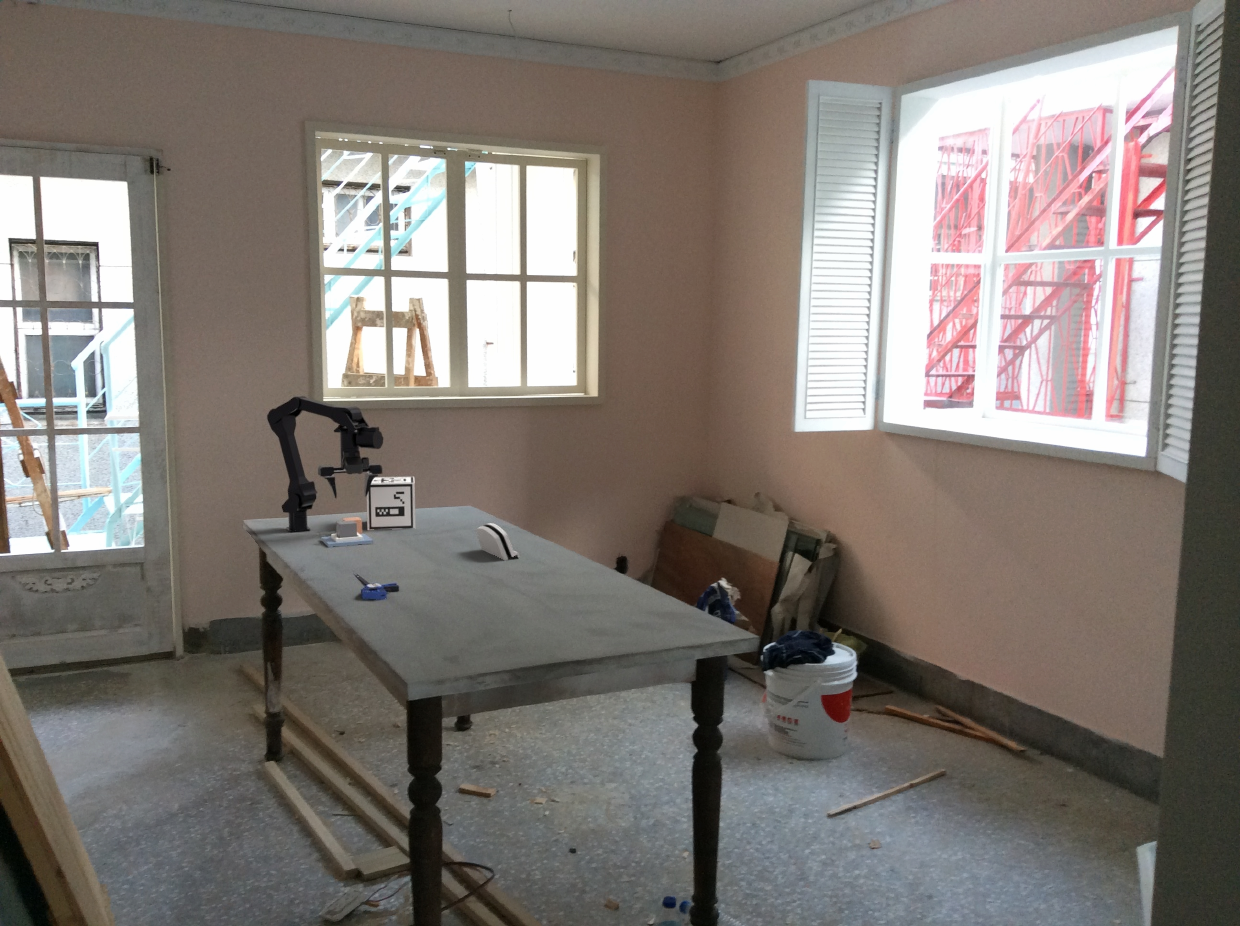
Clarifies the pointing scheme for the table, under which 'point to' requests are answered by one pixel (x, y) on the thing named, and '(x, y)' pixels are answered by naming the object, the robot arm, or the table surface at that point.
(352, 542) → the board
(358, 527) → the terracotta cube
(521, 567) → the table surface
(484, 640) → the table surface
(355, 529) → the charcoal cube
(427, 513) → the table surface
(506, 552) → the striped white half-disc
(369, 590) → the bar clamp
